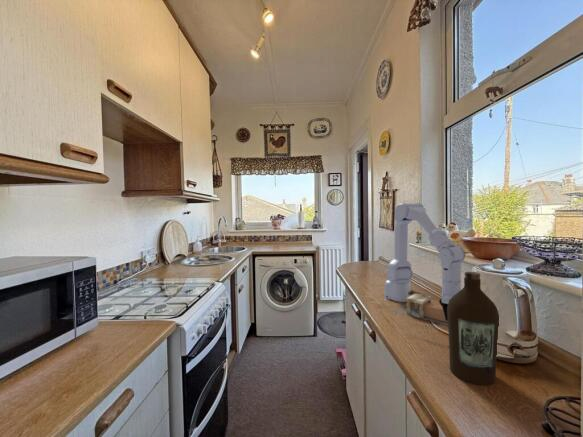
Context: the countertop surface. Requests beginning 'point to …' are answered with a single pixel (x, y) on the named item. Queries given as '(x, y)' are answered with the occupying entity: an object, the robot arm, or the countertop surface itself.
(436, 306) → the terracotta block
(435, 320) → the board
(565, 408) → the countertop surface
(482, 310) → the olive oil
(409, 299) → the wooden tunnel
